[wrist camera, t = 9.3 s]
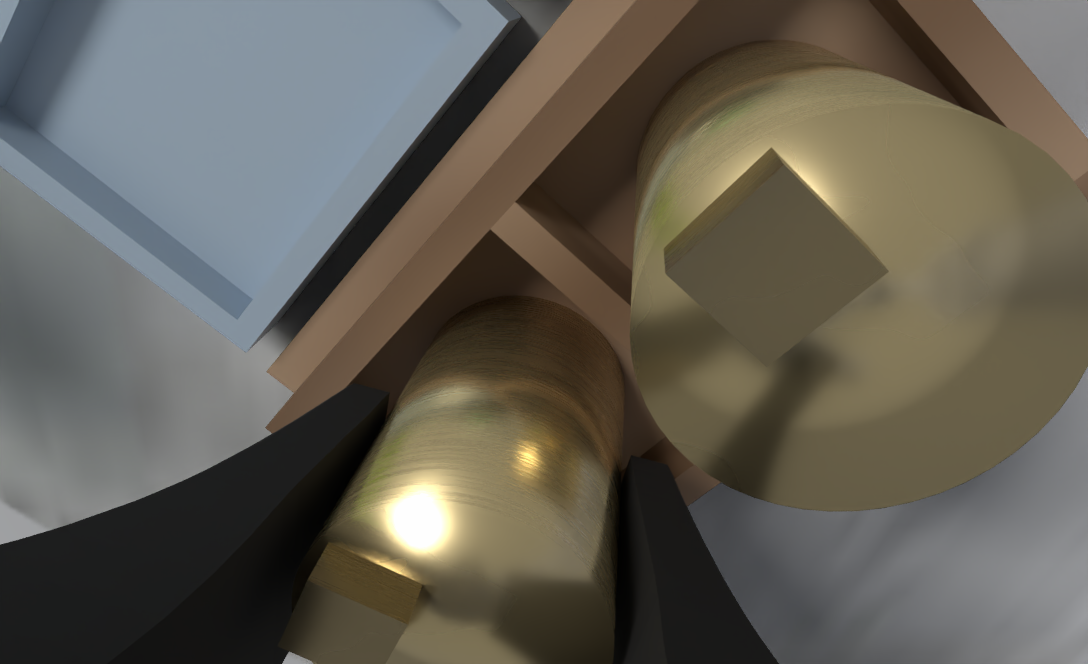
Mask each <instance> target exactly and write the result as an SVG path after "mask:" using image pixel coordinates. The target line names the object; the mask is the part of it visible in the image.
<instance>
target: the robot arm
mask: <svg viewBox="0 0 1088 664" xmlns="http://www.w3.org/2000/svg"><path fill="white" fill-rule="evenodd" d="M389 395H390V392H387V391H383V390H379V389H375V388H371V387H368V386H364V385H360V384H356V383H353V384H351V385H350V386H348V387H346V388H344V389H343V390H341V391H340V392H338V393H336V394H335V395H333V396H332V397H330V398H329V399H327V400H326V401H324V402H323V403H321V404H319V405H318V406H316V407H315V408H313V409H312V410H310V411H308V412H307V413H305V414H304V415H302V416H301V417H299V418H297V419H296V420H294V421H293V422H291V423H289V424H288V425H286V426H284V427H283V428H281V429H279V430H278V431H276V432H274V433H272V434H271V435H269V436H267V437H266V438H264V439H262V440H261V441H259V442H257V443H256V444H254V445H252V446H250V447H248V448H247V449H245V450H243V451H241V452H239V453H237V454H235V455H233V456H231V457H230V458H228V459H226V460H224V461H222V462H220V463H218V464H216V465H215V466H213V467H211V468H209V469H207V470H205V471H203V472H201V473H199V474H197V475H195V476H192V477H190V478H188V479H186V480H184V481H182V482H179V483H177V484H175V485H172V486H170V487H168V488H165V489H163V490H161V491H158V492H156V493H154V494H151V495H149V496H146V497H144V498H141V499H139V500H136V501H134V502H131V503H128V504H126V505H123V506H120V507H117V508H114V509H111V510H109V511H106V512H103V513H100V514H97V515H94V516H91V517H89V518H86V519H83V520H80V521H77V522H74V523H72V524H69V525H66V526H63V527H60V528H57V529H53V530H50V531H47V532H43V533H40V534H36V535H33V536H30V537H26V538H23V539H20V540H16V541H13V542H9V543H5V544H1V545H0V664H282V663H283V661H284V659H285V657H286V655H287V654H288V652H289V651H287V650H285V649H283V648H280V647H278V644H279V642H280V640H281V637H282V635H283V633H284V631H285V629H286V626H287V624H288V622H289V620H290V617H291V615H292V599H291V598H292V590H293V583H294V580H295V577H296V574H297V571H298V568H299V566H300V564H301V563H302V561H303V559H304V557H305V555H306V554H307V552H308V550H309V549H310V547H311V545H312V543H313V542H314V540H315V538H316V537H317V535H318V533H319V532H320V530H321V528H322V527H323V525H324V523H325V521H326V520H327V518H328V516H329V515H330V513H331V511H332V510H333V508H334V506H335V505H336V503H337V501H338V499H339V498H340V496H341V494H342V493H343V491H344V489H345V488H346V486H347V484H348V483H349V481H350V479H351V477H352V476H353V474H354V472H355V471H356V469H357V467H358V466H359V464H360V462H361V461H362V459H363V457H364V455H365V454H366V452H367V450H368V449H369V447H370V445H371V444H372V442H373V440H374V439H375V437H376V435H377V433H378V432H379V430H380V428H381V427H382V425H383V423H384V422H385V420H386V415H387V409H388V402H389ZM612 664H779V663H778V662H777V660H776V659H775V658H774V656H773V655H772V653H771V652H770V651H769V649H768V648H767V646H766V645H765V644H764V642H763V641H762V639H761V638H760V637H759V635H758V634H757V632H756V631H755V629H754V628H753V626H752V625H751V623H750V622H749V620H748V619H747V617H746V616H745V614H744V612H743V611H742V609H741V607H740V606H739V604H738V602H737V601H736V599H735V597H734V596H733V594H732V592H731V591H730V589H729V587H728V586H727V584H726V582H725V580H724V578H723V577H722V575H721V573H720V571H719V569H718V568H717V566H716V564H715V562H714V560H713V558H712V556H711V554H710V552H709V550H708V549H707V547H706V545H705V543H704V541H703V539H702V537H701V535H700V533H699V531H698V529H697V527H696V525H695V523H694V521H693V518H692V516H691V514H690V512H689V510H688V508H687V506H686V503H685V501H684V499H683V497H682V495H681V492H680V490H679V488H678V486H677V483H676V481H675V479H674V476H673V474H672V472H671V470H670V468H669V467H668V465H667V464H663V463H659V462H656V461H652V460H648V459H644V458H640V457H636V456H633V455H631V456H630V459H629V462H628V465H627V468H626V471H625V473H624V476H623V479H622V482H621V493H620V517H619V540H618V564H617V588H616V612H615V635H614V657H613V663H612Z"/></svg>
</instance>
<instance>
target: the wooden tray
mask: <svg viewBox="0 0 1088 664" xmlns="http://www.w3.org/2000/svg"><path fill="white" fill-rule="evenodd" d="M769 39H771V40H792V41H799V42H805V43H808V44H811V45H815V46H818V47H821V48H823V49H826V50H828V51H830V52H833V53H835V54H837V55H840V56H842V57H844V58H847V59H849V60H851V61H854V62H856V63H858V64H861V65H863V66H866V67H868V68H870V69H873V70H875V71H877V72H880V73H882V74H884V75H887V76H889V77H891V78H894V79H896V80H898V81H901V82H903V83H905V84H908V85H910V86H912V87H915V88H917V89H919V90H922V91H924V92H926V93H929V94H931V95H933V96H936V97H938V98H940V99H943V100H945V101H947V102H950V103H952V104H954V105H957V106H959V107H961V108H964V109H966V110H968V111H971V112H973V113H975V114H978V115H980V116H982V117H985V118H987V119H989V120H992V121H994V122H996V123H998V124H1000V125H1002V126H1004V127H1006V128H1008V129H1010V130H1012V131H1014V132H1017V133H1019V134H1021V135H1022V136H1023V137H1025V138H1026V139H1028V140H1029V141H1031V142H1032V143H1034V144H1035V145H1036V146H1038V147H1039V148H1041V149H1042V150H1044V151H1045V152H1047V153H1048V154H1049V155H1050V156H1051V157H1052V158H1053V159H1054V160H1055V161H1056V162H1057V163H1058V164H1059V165H1060V166H1061V167H1062V168H1063V169H1064V170H1065V171H1066V172H1067V173H1068V174H1069V175H1070V177H1071V178H1072V180H1073V181H1074V182H1075V184H1076V185H1077V186H1078V188H1079V189H1080V191H1081V192H1082V193H1083V195H1084V196H1085V198H1086V199H1087V202H1088V139H1087V137H1086V136H1085V135H1084V134H1083V133H1082V131H1081V130H1080V129H1079V128H1078V127H1077V125H1076V124H1075V123H1074V122H1073V121H1072V119H1071V118H1070V117H1069V116H1068V115H1067V113H1066V112H1065V111H1064V110H1063V109H1062V107H1061V106H1060V105H1059V104H1058V103H1057V101H1056V100H1055V99H1054V98H1053V97H1052V95H1051V94H1050V93H1049V92H1048V91H1047V89H1046V88H1045V87H1044V86H1043V85H1042V83H1041V82H1040V81H1039V80H1038V79H1037V77H1036V76H1035V75H1034V74H1033V73H1032V72H1031V70H1030V69H1029V68H1028V67H1027V66H1026V64H1025V63H1024V62H1023V61H1022V60H1021V58H1020V57H1019V56H1018V55H1017V54H1016V52H1015V51H1014V50H1013V49H1012V48H1011V46H1010V45H1009V44H1008V43H1007V42H1006V40H1005V39H1004V38H1003V37H1002V36H1001V34H1000V33H999V32H998V31H997V30H996V28H995V27H994V26H993V25H992V24H991V22H990V21H989V20H988V19H987V18H986V16H985V15H984V14H983V13H982V12H981V10H980V9H979V8H978V7H977V6H976V4H975V3H974V2H973V1H972V0H573V1H572V2H571V3H570V5H569V6H568V7H567V8H566V9H565V11H564V12H563V13H562V14H561V15H560V17H559V18H558V19H557V20H556V22H555V23H554V24H553V25H552V26H551V28H550V29H549V30H548V31H547V32H546V34H545V35H544V36H543V37H542V38H541V40H540V41H539V42H538V43H537V45H536V46H535V47H534V48H533V49H532V51H531V52H530V53H529V54H528V55H527V57H526V58H525V59H524V60H523V61H522V63H521V64H520V65H519V66H518V68H517V69H516V70H515V71H514V72H513V74H512V75H511V76H510V77H509V78H508V80H507V81H506V82H505V83H504V84H503V86H502V87H501V88H500V89H499V91H498V92H497V93H496V94H495V95H494V97H493V98H492V99H491V100H490V101H489V103H488V104H487V105H486V106H485V108H484V109H483V110H482V111H481V112H480V114H479V115H478V116H477V117H476V118H475V120H474V121H473V122H472V123H471V124H470V126H469V127H468V128H467V129H466V131H465V132H464V133H463V134H462V135H461V137H460V138H459V139H458V140H457V141H456V143H455V144H454V145H453V146H452V147H451V149H450V150H449V151H448V152H447V154H446V155H445V156H444V157H443V158H442V160H441V161H440V162H439V163H438V164H437V166H436V167H435V168H434V169H433V170H432V172H431V173H430V174H429V175H428V177H427V178H426V179H425V180H424V181H423V183H422V184H421V185H420V186H419V187H418V189H417V190H416V191H415V192H414V194H413V195H412V196H411V197H410V198H409V200H408V201H407V202H406V203H405V204H404V206H403V207H402V208H401V209H400V210H399V212H398V213H397V214H396V215H395V217H394V218H393V219H392V220H391V221H390V223H389V224H388V225H387V226H386V227H385V229H384V230H383V231H382V232H381V233H380V235H379V236H378V237H377V238H376V240H375V241H374V242H373V243H372V244H371V246H370V247H369V248H368V249H367V250H366V252H365V253H364V254H363V255H362V256H361V258H360V259H359V260H358V261H357V263H356V264H355V265H354V266H353V267H352V269H351V270H350V271H349V272H348V273H347V275H346V276H345V277H344V278H343V279H342V281H341V282H340V283H339V284H338V286H337V287H336V288H335V289H334V290H333V292H332V293H331V294H330V295H329V296H328V298H327V299H326V300H325V301H324V303H323V304H322V305H321V306H320V307H319V309H318V310H317V311H316V312H315V313H314V315H313V316H312V317H311V318H310V319H309V321H308V322H307V323H306V324H305V326H304V327H303V328H302V329H301V330H300V332H299V333H298V334H297V335H296V336H295V338H294V339H293V340H292V341H291V342H290V344H289V345H288V346H287V347H286V349H285V350H284V351H283V352H282V353H281V355H280V356H279V357H278V358H277V359H276V361H275V362H274V363H273V364H272V365H271V367H270V368H269V369H268V370H267V373H269V374H270V375H271V376H273V377H274V378H275V379H277V380H278V381H279V382H281V383H282V384H283V385H284V386H286V387H287V388H288V389H290V390H291V391H292V392H294V394H293V395H292V396H291V397H290V399H289V400H288V401H287V402H286V403H285V405H284V406H283V407H282V408H281V409H280V411H279V412H278V413H277V414H276V415H275V417H274V418H273V419H272V420H271V421H270V423H269V424H268V425H267V426H266V427H265V428H266V429H267V430H269V431H270V432H271V433H274V432H276V431H278V430H279V429H281V428H283V427H284V426H286V425H288V424H289V423H291V422H293V421H294V420H296V419H297V418H299V417H301V416H302V415H304V414H305V413H307V412H308V411H310V410H312V409H313V408H315V407H316V406H318V405H319V404H321V403H323V402H324V401H326V400H327V399H329V398H330V397H332V396H333V395H335V394H336V393H338V392H340V391H341V390H343V389H344V388H346V387H348V386H350V385H351V384H353V383H356V384H360V385H364V386H368V387H371V388H375V389H379V390H383V391H387V392H390V395H389V402H388V409H387V415H386V418H387V417H388V415H389V413H390V412H391V410H392V408H393V406H394V405H395V403H396V401H397V400H398V398H399V396H400V395H401V393H402V391H403V390H404V388H405V386H406V384H407V383H408V381H409V379H410V378H411V376H412V374H413V373H414V371H415V369H416V368H417V366H418V364H419V362H420V361H421V359H422V357H423V356H424V354H425V352H426V351H427V349H428V347H429V346H430V344H431V342H432V340H433V339H434V337H435V335H436V334H437V333H438V331H439V330H440V329H441V328H442V326H443V325H444V324H445V323H446V322H447V321H448V320H449V319H450V318H451V317H453V316H454V315H455V314H457V313H458V312H460V311H461V310H463V309H465V308H467V307H468V306H470V305H472V304H475V303H477V302H480V301H483V300H486V299H490V298H495V297H500V296H512V295H516V296H531V297H537V298H542V299H546V300H549V301H553V302H556V303H558V304H560V305H563V306H565V307H568V308H569V309H571V310H573V311H575V312H576V313H578V314H580V315H581V316H583V317H584V318H585V319H587V320H588V321H589V322H591V323H592V324H593V325H594V326H595V327H596V328H597V329H598V330H599V331H600V332H601V333H602V334H603V336H604V337H605V338H606V339H607V341H608V342H609V343H610V345H611V347H612V348H613V350H614V352H615V354H616V356H617V358H618V361H619V363H620V365H621V369H622V373H623V377H624V386H625V398H624V422H623V445H622V469H621V482H622V479H623V476H624V473H625V471H626V468H627V465H628V462H629V459H630V456H631V455H633V456H636V457H640V458H644V459H648V460H652V461H656V462H659V463H663V464H667V465H668V467H669V468H670V470H671V472H672V474H673V476H674V479H675V481H676V483H677V486H678V488H679V490H680V492H681V495H682V497H683V499H684V501H685V503H686V506H689V505H690V504H691V503H693V502H694V501H696V500H697V499H698V498H700V497H701V496H703V495H704V494H705V493H707V492H708V491H709V490H711V489H712V488H714V487H715V486H716V485H718V484H719V483H721V482H720V481H718V480H716V479H715V478H713V477H711V476H709V475H708V474H706V473H705V472H704V471H702V470H701V469H700V468H698V467H697V466H696V465H694V464H693V463H692V462H690V461H689V460H688V459H687V458H686V457H685V456H684V455H683V454H682V453H681V452H680V451H679V450H678V449H677V448H676V447H675V446H674V445H673V444H672V443H671V442H670V441H669V439H668V438H667V437H666V435H665V434H664V433H663V432H662V430H661V429H660V428H659V427H658V425H657V423H656V422H655V420H654V418H653V416H652V415H651V413H650V411H649V410H648V408H647V406H646V404H645V401H644V399H643V396H642V394H641V391H640V389H639V386H638V384H637V380H636V376H635V372H634V367H633V363H632V358H631V346H630V314H631V291H632V268H633V245H634V222H635V199H636V176H637V160H638V154H639V149H640V144H641V141H642V138H643V135H644V132H645V129H646V126H647V124H648V122H649V120H650V118H651V116H652V114H653V112H654V110H655V109H656V107H657V106H658V104H659V102H660V101H661V99H662V98H663V97H664V95H665V94H666V93H667V92H668V91H669V89H670V88H671V87H672V86H673V85H674V84H675V83H676V82H677V81H678V80H679V79H680V78H681V77H682V76H683V75H684V74H685V73H686V72H688V71H689V70H691V69H692V68H693V67H695V66H696V65H697V64H699V63H700V62H702V61H703V60H705V59H707V58H709V57H711V56H712V55H714V54H716V53H718V52H721V51H723V50H726V49H728V48H731V47H733V46H737V45H740V44H744V43H748V42H753V41H761V40H769Z"/></svg>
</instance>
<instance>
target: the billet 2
mask: <svg viewBox="0 0 1088 664" xmlns="http://www.w3.org/2000/svg"><path fill="white" fill-rule="evenodd" d="M630 346H631V358H632V363H633V367H634V372H635V376H636V380H637V384H638V386H639V389H640V391H641V394H642V396H643V399H644V401H645V404H646V406H647V408H648V410H649V411H650V413H651V415H652V416H653V418H654V420H655V422H656V423H657V425H658V427H659V428H660V429H661V430H662V432H663V433H664V434H665V435H666V437H667V438H668V439H669V441H670V442H671V443H672V444H673V445H674V446H675V447H676V448H677V449H678V450H679V451H680V452H681V453H682V454H683V455H684V456H685V457H686V458H687V459H688V460H689V461H690V462H692V463H693V464H694V465H696V466H697V467H698V468H700V469H701V470H702V471H704V472H705V473H706V474H708V475H709V476H711V477H713V478H715V479H716V480H718V481H720V482H722V483H723V484H725V485H727V486H729V487H730V488H733V489H735V490H738V491H740V492H742V493H745V494H747V495H749V496H752V497H754V498H758V499H761V500H764V501H768V502H771V503H774V504H778V505H783V506H789V507H794V508H799V509H807V510H818V511H861V510H870V509H879V508H886V507H891V506H896V505H900V504H905V503H910V502H914V501H917V500H920V499H923V498H926V497H930V496H933V495H936V494H939V493H942V492H944V491H946V490H949V489H951V488H953V487H956V486H958V485H961V484H963V483H965V482H967V481H969V480H971V479H973V478H975V477H976V476H978V475H980V474H982V473H984V472H986V471H987V470H989V469H991V468H993V467H994V466H996V465H997V464H999V463H1000V462H1001V461H1003V460H1004V459H1006V458H1007V457H1009V456H1010V455H1012V454H1013V453H1015V452H1016V451H1017V450H1018V449H1020V448H1021V447H1022V446H1023V445H1024V444H1025V443H1027V442H1028V441H1029V440H1030V439H1031V438H1033V437H1034V436H1035V435H1036V434H1037V433H1038V432H1039V431H1040V430H1041V429H1042V428H1043V427H1044V426H1045V425H1046V424H1047V423H1048V422H1049V421H1050V420H1051V419H1052V417H1053V416H1054V415H1055V414H1056V413H1057V412H1058V411H1059V410H1060V408H1061V407H1062V406H1063V404H1064V403H1065V402H1066V400H1067V399H1068V397H1069V396H1070V395H1071V393H1072V392H1073V391H1074V389H1075V388H1076V386H1077V384H1078V383H1079V381H1080V379H1081V377H1082V375H1083V374H1084V372H1085V370H1086V368H1087V367H1088V202H1087V199H1086V198H1085V196H1084V195H1083V193H1082V192H1081V191H1080V189H1079V188H1078V186H1077V185H1076V184H1075V182H1074V181H1073V180H1072V178H1071V177H1070V175H1069V174H1068V173H1067V172H1066V171H1065V170H1064V169H1063V168H1062V167H1061V166H1060V165H1059V164H1058V163H1057V162H1056V161H1055V160H1054V159H1053V158H1052V157H1051V156H1050V155H1049V154H1048V153H1047V152H1045V151H1044V150H1042V149H1041V148H1039V147H1038V146H1036V145H1035V144H1034V143H1032V142H1031V141H1029V140H1028V139H1026V138H1025V137H1023V136H1022V135H1021V134H1019V133H1017V132H1014V131H1012V130H1010V129H1008V128H1006V127H1004V126H1002V125H1000V124H998V123H996V122H994V121H992V120H989V119H987V118H985V117H982V116H980V115H978V114H975V113H973V112H971V111H968V110H966V109H964V108H961V107H959V106H957V105H954V104H952V103H950V102H947V101H945V100H943V99H940V98H938V97H936V96H933V95H931V94H929V93H926V92H924V91H922V90H919V89H917V88H915V87H912V86H910V85H908V84H905V83H903V82H901V81H898V80H896V79H894V78H891V77H889V76H887V75H884V74H882V73H880V72H877V71H875V70H873V69H870V68H868V67H866V66H863V65H861V64H858V63H856V62H854V61H851V60H849V59H847V58H844V57H842V56H840V55H837V54H835V53H833V52H830V51H828V50H826V49H823V48H821V47H818V46H815V45H811V44H808V43H805V42H799V41H792V40H771V39H769V40H761V41H753V42H748V43H744V44H740V45H737V46H733V47H731V48H728V49H726V50H723V51H721V52H718V53H716V54H714V55H712V56H711V57H709V58H707V59H705V60H703V61H702V62H700V63H699V64H697V65H696V66H695V67H693V68H692V69H691V70H689V71H688V72H686V73H685V74H684V75H683V76H682V77H681V78H680V79H679V80H678V81H677V82H676V83H675V84H674V85H673V86H672V87H671V88H670V89H669V91H668V92H667V93H666V94H665V95H664V97H663V98H662V99H661V101H660V102H659V104H658V106H657V107H656V109H655V110H654V112H653V114H652V116H651V118H650V120H649V122H648V124H647V126H646V129H645V132H644V135H643V138H642V141H641V144H640V149H639V154H638V160H637V176H636V199H635V222H634V245H633V268H632V291H631V314H630Z"/></svg>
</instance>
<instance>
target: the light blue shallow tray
mask: <svg viewBox="0 0 1088 664" xmlns="http://www.w3.org/2000/svg"><path fill="white" fill-rule="evenodd" d="M521 17H522V16H521V15H520V14H519V13H518V12H517V11H515V10H514V9H513V8H512V7H511V6H510V5H509V4H508V3H507V2H506V1H505V0H0V166H1V167H2V168H3V169H5V170H6V171H7V172H9V173H10V174H11V175H13V176H14V177H15V178H17V179H18V180H19V181H21V182H22V183H23V184H25V185H26V186H27V187H28V188H30V189H31V190H32V191H34V192H35V193H36V194H38V195H39V196H40V197H42V198H43V199H44V200H46V201H47V202H48V203H50V204H51V205H52V206H53V207H55V208H56V209H57V210H59V211H60V212H61V213H63V214H64V215H65V216H67V217H68V218H69V219H71V220H72V221H73V222H75V223H76V224H77V225H79V226H80V227H81V228H82V229H84V230H85V231H86V232H88V233H89V234H90V235H92V236H93V237H94V238H96V239H97V240H98V241H100V242H101V243H102V244H104V245H105V246H106V247H107V248H109V249H110V250H111V251H113V252H114V253H115V254H117V255H118V256H119V257H121V258H122V259H123V260H125V261H126V262H127V263H129V264H130V265H131V266H132V267H134V268H135V269H136V270H138V271H139V272H140V273H142V274H143V275H144V276H146V277H147V278H148V279H150V280H151V281H152V282H154V283H155V284H156V285H158V286H159V287H160V288H161V289H163V290H164V291H165V292H167V293H168V294H169V295H171V296H172V297H173V298H175V299H176V300H177V301H179V302H180V303H181V304H183V305H184V306H185V307H186V308H188V309H189V310H190V311H192V312H193V313H194V314H196V315H197V316H198V317H200V318H201V319H202V320H204V321H205V322H206V323H208V324H209V325H210V326H212V327H213V328H214V329H215V330H217V331H218V332H219V333H221V334H222V335H223V336H225V337H226V338H227V339H229V340H230V341H231V342H233V343H234V344H235V345H237V346H238V347H239V348H240V349H242V350H243V351H244V352H247V351H248V350H250V349H251V348H252V347H253V346H254V345H255V344H256V343H257V342H258V341H259V340H260V339H261V338H262V337H263V336H264V335H265V334H266V333H267V332H268V331H269V330H270V329H272V328H273V327H274V326H275V325H276V324H277V322H278V321H279V320H280V319H281V317H282V316H283V315H284V314H285V312H286V311H287V310H288V309H289V307H290V306H291V305H292V304H293V302H294V301H295V300H296V299H297V297H298V296H299V295H300V294H301V292H302V291H303V290H304V289H305V287H306V286H307V285H308V284H309V282H310V281H311V280H312V279H313V277H314V276H315V275H316V274H317V272H318V271H319V270H320V269H321V267H322V266H323V265H324V264H325V262H326V261H327V260H328V259H329V257H330V256H331V255H332V254H333V252H334V251H335V250H336V249H337V247H338V246H339V245H340V244H341V242H342V241H343V240H344V239H345V237H346V236H347V235H348V234H349V232H350V231H351V230H352V229H353V227H354V226H355V225H356V224H357V222H358V221H359V220H360V219H361V217H362V216H363V215H364V214H365V212H366V211H367V210H368V209H369V207H370V206H371V205H372V204H373V202H374V201H375V200H376V199H377V197H378V196H379V195H380V194H381V192H382V191H383V190H384V189H385V187H386V186H387V185H388V184H389V182H390V181H391V180H392V179H393V177H394V176H395V175H396V174H397V172H398V171H399V170H400V169H401V167H402V166H403V165H404V164H405V162H406V161H407V160H408V159H409V157H410V156H411V155H412V154H413V152H414V151H415V150H416V149H417V147H418V146H419V145H420V144H421V142H422V141H423V140H424V139H425V137H426V136H427V135H428V134H429V132H430V131H431V130H432V129H433V127H434V126H435V125H436V124H437V122H438V121H439V120H440V119H441V117H442V116H443V115H444V114H445V112H446V111H447V110H448V109H449V107H450V106H451V105H452V104H453V102H454V101H455V100H456V99H457V97H458V96H459V95H460V94H461V92H462V91H463V90H464V88H465V87H466V86H467V85H468V83H469V82H470V81H471V80H472V78H473V77H474V76H475V75H476V73H477V72H478V71H479V70H480V68H481V67H482V66H483V65H484V63H485V62H486V61H487V60H488V58H489V57H490V56H491V55H492V53H493V52H494V51H495V50H496V48H497V47H498V46H499V45H500V43H501V42H502V41H503V40H504V38H505V37H506V36H507V35H508V33H509V32H510V31H511V30H512V28H513V27H514V26H515V25H516V23H517V22H518V21H519V20H520V18H521Z"/></svg>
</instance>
